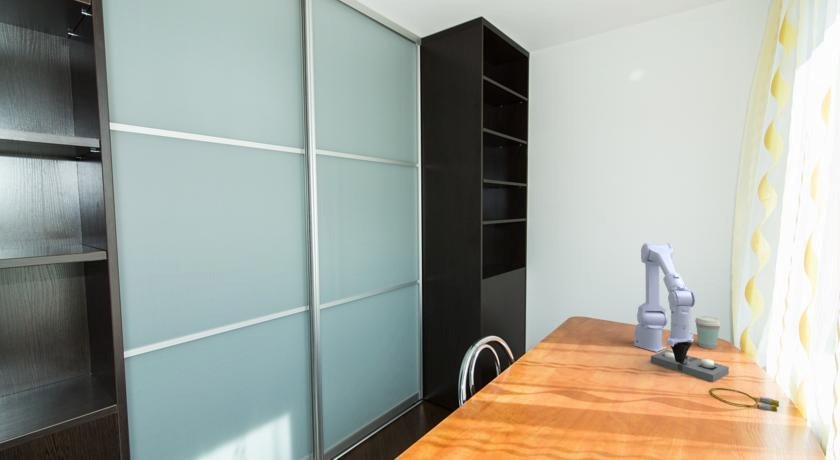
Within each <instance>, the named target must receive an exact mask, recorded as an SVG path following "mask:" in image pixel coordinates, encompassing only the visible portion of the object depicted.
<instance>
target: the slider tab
mask: <svg viewBox="0 0 840 460" xmlns="http://www.w3.org/2000/svg"><path fill="white" fill-rule="evenodd" d="M689 356H690V355H688V354H686V357H685V360H684V363H683V364H689V363H690V362H689Z"/></svg>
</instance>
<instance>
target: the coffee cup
mask: <svg viewBox="0 0 840 460" xmlns="http://www.w3.org/2000/svg"><path fill="white" fill-rule="evenodd" d="M695 325H696V326H695V328H696V334H697V343H698V347H700V348H702V349H705V348H706V349H707V350H716V349H717V343H718V337H719V333H720V326H721V321H720V319H719V318H716V317H712V316H706V315H698V316H697V317H696V318H695Z"/></svg>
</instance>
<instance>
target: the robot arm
mask: <svg viewBox="0 0 840 460" xmlns="http://www.w3.org/2000/svg"><path fill="white" fill-rule="evenodd" d="M673 256H674V248H673V246H672V244H671V243H667V242H666V243H643V244H642V246H641V249H640V259H641V263H643V264H644V265H645V302H644V303H642V304H640V305H639V306H638V308H637V313H636V314H637V315H636V319H637V322H638V324H636V325H635V328H634V341H633V342H634V344H633V346H634V347H637V348H640V349H641V348H642V349H644V350H647V351H651V352H655V353H657V352H658V353H659V352H662V351H664V350H667V346H669V347H670V348H671V351H673V353H674V357H675V361H676V362H679V363H684V360H685V357H686V355H688V351H689V349H690V348H691V347H692V343H693V342H694V341H695V339H694V333H692V332H691V322H692V321H691V318H692V317H691V316H692V311H691V310H692V307H694V306H695V303H696V299H695V298H696V297H695V295H694V292H693V291H692V290H691V289H690V288H689V287H687V285H686V284H685V282H684V279H683V277H682V275H681V274H680V273H678V272H676V269H675V266H674V263H673ZM660 270H661V271H662V273H663V275H664V277H663V282H664V285H665V287H666V289H667V292H668V296H667V300H668V303H669V304H668V305H669V311H670V334H669V336H668V338H667V339H666V346H663V343H662V342H663V329H665V327H666V326H667V325H668V320H669V318H668V313H667V309H666V307H664V306H663V305H661V304H660Z"/></svg>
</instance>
